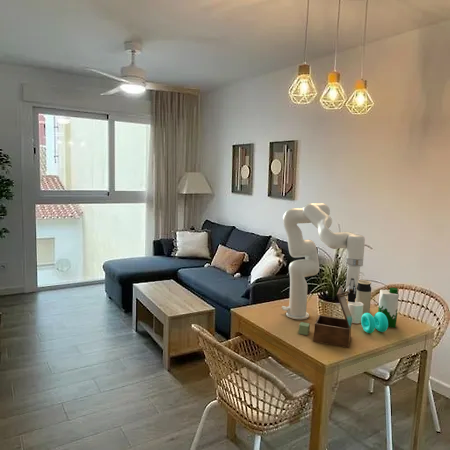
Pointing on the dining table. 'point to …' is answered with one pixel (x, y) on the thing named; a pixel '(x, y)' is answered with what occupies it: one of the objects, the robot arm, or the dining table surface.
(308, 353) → the dining table surface
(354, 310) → the white cup
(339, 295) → the lid
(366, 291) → the travel mug
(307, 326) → the block
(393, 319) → the milk carton
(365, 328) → the turquoise yo-yo
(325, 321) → the chest
